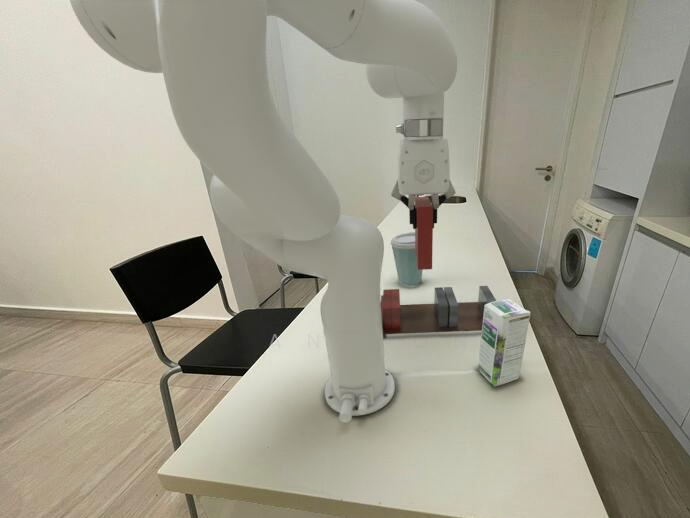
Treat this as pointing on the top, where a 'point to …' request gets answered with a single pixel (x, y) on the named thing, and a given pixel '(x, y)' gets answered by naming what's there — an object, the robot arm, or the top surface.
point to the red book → (424, 233)
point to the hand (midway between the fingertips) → (423, 226)
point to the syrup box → (502, 341)
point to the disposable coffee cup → (406, 259)
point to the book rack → (433, 313)
